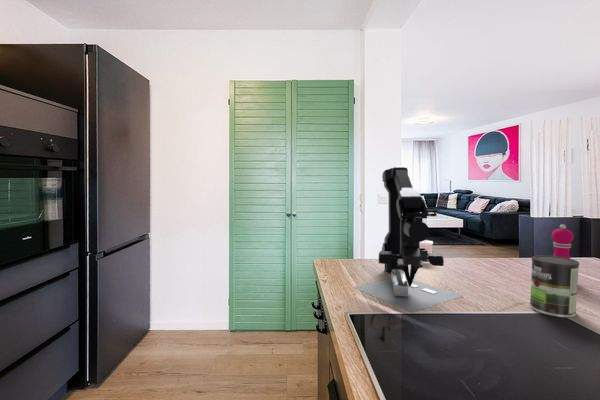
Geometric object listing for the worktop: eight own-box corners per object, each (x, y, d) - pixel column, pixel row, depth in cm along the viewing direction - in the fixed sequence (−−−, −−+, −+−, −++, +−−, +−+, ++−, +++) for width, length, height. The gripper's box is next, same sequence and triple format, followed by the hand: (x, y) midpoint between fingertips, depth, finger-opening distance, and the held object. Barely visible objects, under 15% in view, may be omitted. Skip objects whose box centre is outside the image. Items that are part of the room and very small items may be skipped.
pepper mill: (578, 284, 112) (581, 226, 111) (554, 283, 114) (556, 225, 112) (566, 278, 119) (568, 223, 118) (543, 277, 121) (545, 222, 119)
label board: (352, 290, 108) (352, 286, 108) (401, 278, 120) (401, 275, 120) (412, 315, 88) (412, 311, 88) (463, 298, 100) (463, 295, 100)
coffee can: (550, 318, 86) (553, 264, 85) (520, 303, 96) (522, 255, 95) (587, 317, 86) (590, 263, 86) (554, 302, 97) (556, 254, 96)
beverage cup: (432, 260, 146) (433, 229, 145) (433, 264, 140) (433, 231, 139) (417, 259, 148) (418, 228, 147) (417, 263, 142) (418, 230, 141)
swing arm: (390, 277, 117) (391, 267, 117) (402, 277, 116) (402, 268, 116) (394, 295, 99) (394, 284, 98) (408, 296, 98) (408, 285, 98)
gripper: (378, 239, 97) (378, 292, 98) (447, 241, 92) (447, 296, 93) (378, 233, 107) (379, 280, 108) (440, 234, 103) (440, 284, 104)
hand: (409, 285), depth 103 cm, fingers closed
